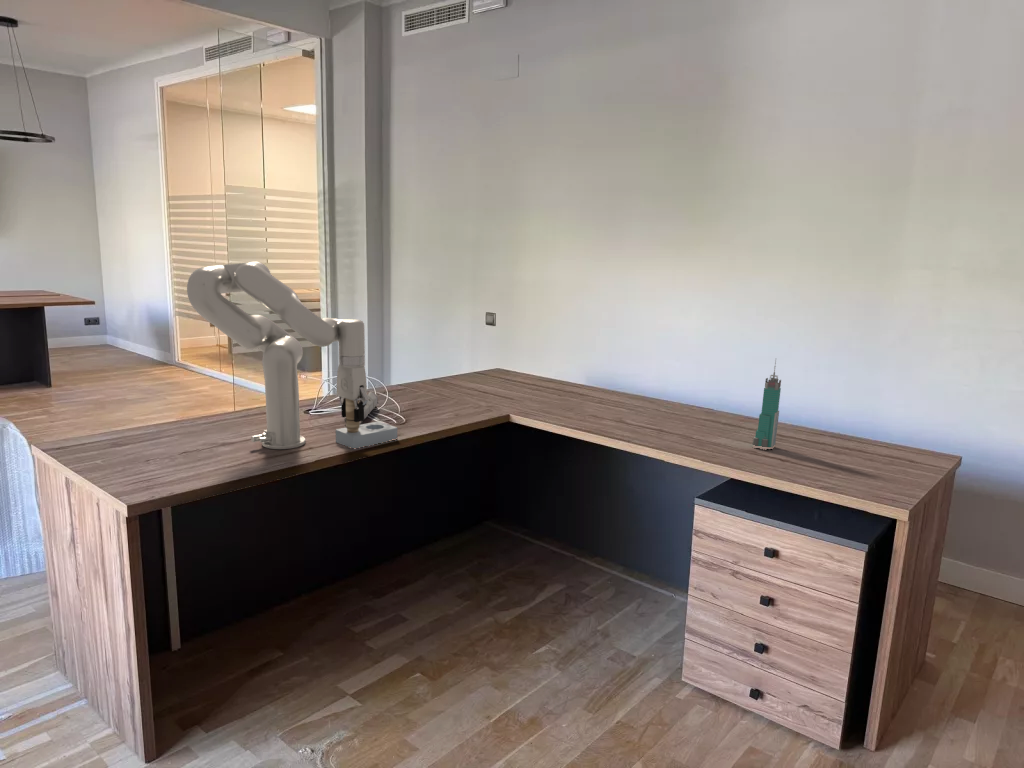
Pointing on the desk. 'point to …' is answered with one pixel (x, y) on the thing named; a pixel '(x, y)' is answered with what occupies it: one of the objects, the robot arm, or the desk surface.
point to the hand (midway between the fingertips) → (352, 418)
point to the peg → (351, 417)
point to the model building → (370, 404)
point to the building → (769, 413)
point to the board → (366, 435)
